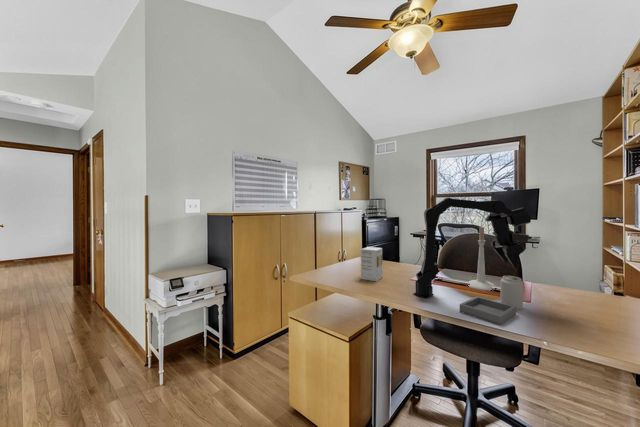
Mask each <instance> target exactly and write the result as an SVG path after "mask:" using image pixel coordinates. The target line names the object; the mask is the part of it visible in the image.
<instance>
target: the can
mask: <svg viewBox="0 0 640 427" xmlns="http://www.w3.org/2000/svg"><path fill="white" fill-rule="evenodd" d="M499 291H500V293H499V294H500V295H499V297H500V300H499V302H500V303H504V304H508V305H512V306H515V307H516V311H517V310H520V309H522V308H524V282H523V281H522V278H521V277H518V276H515V275H503V276H502V278H501V279H500V290H499Z"/></svg>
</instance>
